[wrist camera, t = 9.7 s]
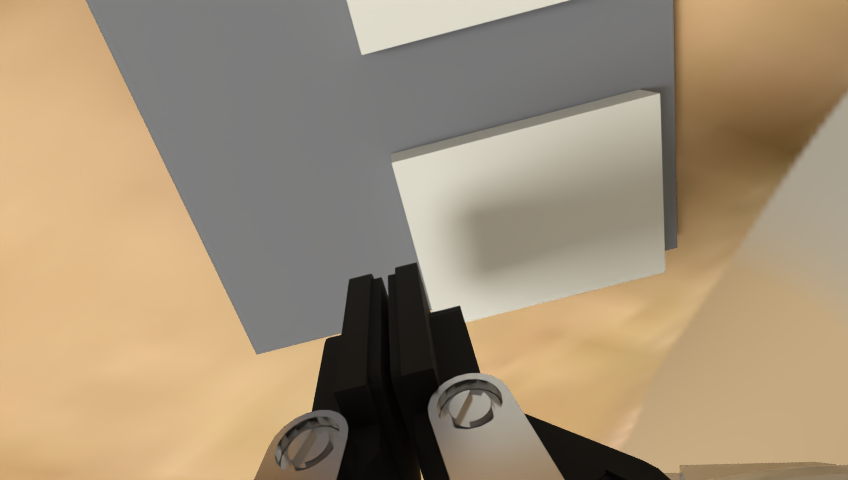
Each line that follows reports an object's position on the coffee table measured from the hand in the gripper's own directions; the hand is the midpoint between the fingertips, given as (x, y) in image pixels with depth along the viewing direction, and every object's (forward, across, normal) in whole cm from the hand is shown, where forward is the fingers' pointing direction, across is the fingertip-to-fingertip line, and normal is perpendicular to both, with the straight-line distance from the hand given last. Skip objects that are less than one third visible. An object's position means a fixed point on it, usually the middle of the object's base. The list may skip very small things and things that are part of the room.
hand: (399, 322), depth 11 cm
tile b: (+4, -1, 0) cm, 4 cm away
